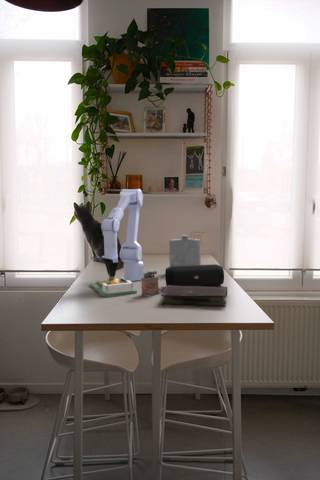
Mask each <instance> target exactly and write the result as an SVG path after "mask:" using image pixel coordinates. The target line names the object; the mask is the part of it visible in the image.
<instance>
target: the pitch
mask: <svg viewBox="0 0 320 480" xmlns="http://www.w3.org/2000/svg"><path fill="white" fill-rule="evenodd" d="M119 280H120V284H123V283H125V281H123V280H122V279H119ZM102 283H104V281H100V280H96V282H91V283H89V285H90V287H91V288H92V289H93V290H95V291H96V292H97V293H98V294H100V295H101V296H102V297H103V298H105V297H107V298H108V297H115V296H124V295H132V293H133V294H137V293H138V292H137V290H136V289H135V288H133V291H128V292H119V293H110V294H106V293H105V292H103V290H102Z"/></svg>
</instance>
